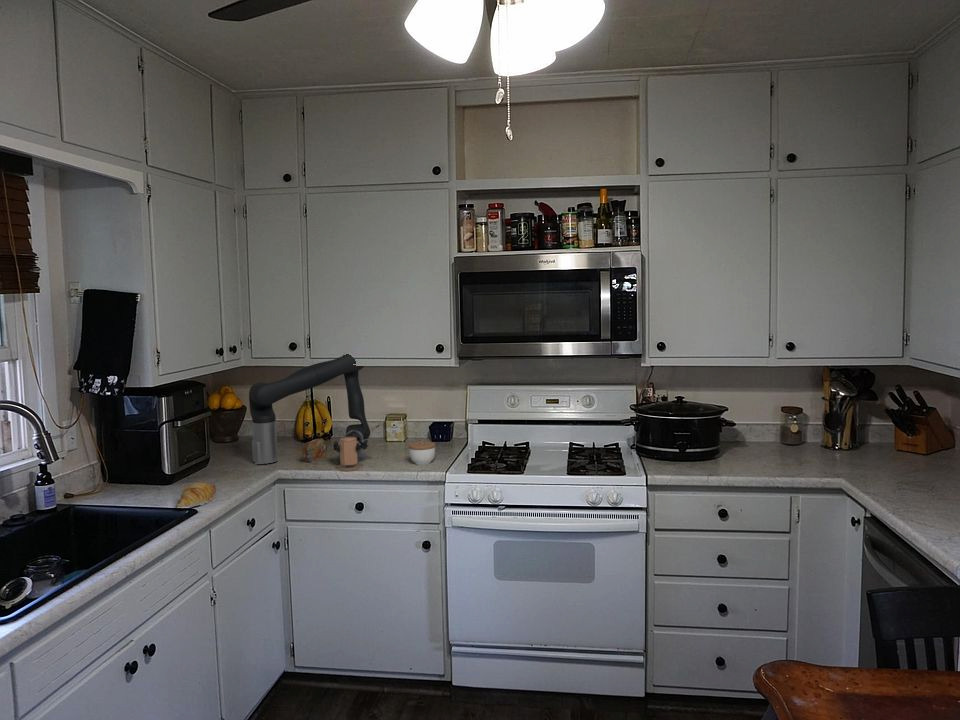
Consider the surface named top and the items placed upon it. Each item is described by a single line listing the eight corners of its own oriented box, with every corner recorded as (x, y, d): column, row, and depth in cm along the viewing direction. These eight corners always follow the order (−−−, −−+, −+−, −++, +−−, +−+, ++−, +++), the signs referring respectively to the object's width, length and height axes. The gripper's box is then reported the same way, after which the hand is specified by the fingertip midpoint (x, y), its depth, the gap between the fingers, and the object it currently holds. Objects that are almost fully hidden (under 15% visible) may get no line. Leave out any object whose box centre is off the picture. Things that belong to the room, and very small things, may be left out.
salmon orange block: (339, 465, 269) (338, 440, 268) (342, 461, 275) (341, 436, 274) (356, 464, 269) (355, 439, 268) (358, 460, 275) (357, 436, 274)
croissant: (188, 523, 221) (197, 502, 220) (161, 508, 222) (170, 487, 220) (221, 501, 242) (229, 482, 240) (196, 488, 242) (205, 469, 241)
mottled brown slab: (308, 464, 279) (307, 444, 279) (301, 464, 280) (300, 443, 280) (327, 456, 294) (326, 436, 293) (321, 455, 295) (320, 436, 294)
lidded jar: (404, 464, 275) (403, 441, 274) (418, 458, 284) (417, 436, 284) (426, 467, 270) (426, 444, 269) (440, 461, 279) (440, 438, 279)
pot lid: (343, 473, 265) (342, 464, 264) (330, 467, 273) (330, 459, 273) (368, 467, 271) (368, 459, 271) (355, 462, 280) (355, 454, 280)
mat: (348, 463, 279) (347, 462, 279) (334, 458, 288) (334, 457, 288) (374, 458, 286) (373, 457, 286) (360, 453, 296) (360, 453, 296)
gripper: (335, 432, 285) (328, 440, 268) (370, 430, 286) (365, 439, 269) (336, 449, 286) (329, 459, 269) (371, 448, 286) (366, 458, 270)
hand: (347, 449), depth 269 cm, fingers closed on salmon orange block, 6 cm apart
